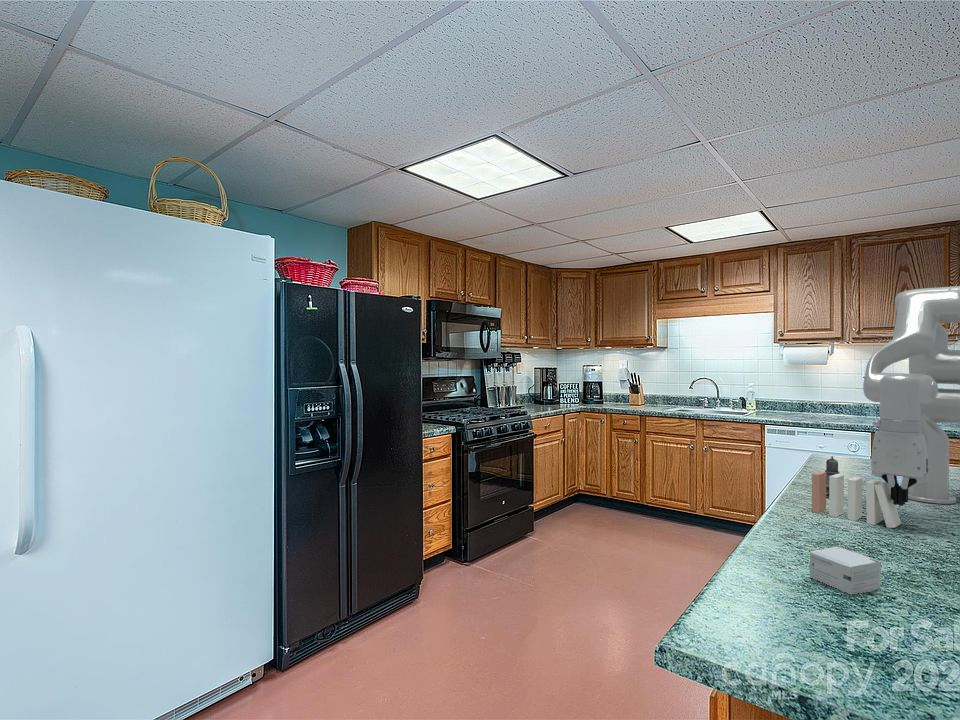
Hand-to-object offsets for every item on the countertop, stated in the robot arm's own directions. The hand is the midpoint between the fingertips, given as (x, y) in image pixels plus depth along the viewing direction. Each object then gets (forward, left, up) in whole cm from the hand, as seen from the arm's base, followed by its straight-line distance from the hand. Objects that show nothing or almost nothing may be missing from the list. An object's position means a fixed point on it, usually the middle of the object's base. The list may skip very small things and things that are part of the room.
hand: (899, 504), depth 123 cm
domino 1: (0, -13, -6) cm, 14 cm away
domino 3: (0, -5, -6) cm, 7 cm away
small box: (+46, +3, -6) cm, 46 cm away
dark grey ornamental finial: (-18, -20, -6) cm, 27 cm away
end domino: (0, -17, -6) cm, 18 cm away
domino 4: (0, -1, -5) cm, 5 cm away
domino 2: (0, -9, -6) cm, 11 cm away
